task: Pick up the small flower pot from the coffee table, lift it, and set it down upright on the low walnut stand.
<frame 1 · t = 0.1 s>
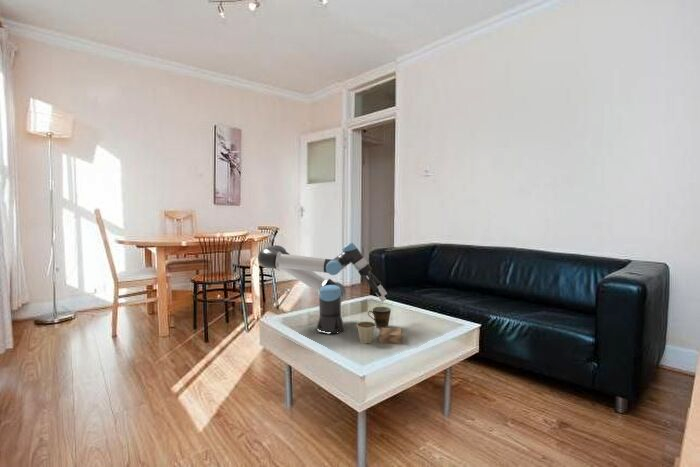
hand: (384, 297, 203), 15 cm above the table, tool tilted 35°, fingers open, 13 cm apart
ceramic cup: (379, 327, 199), on the table
stand: (390, 338, 181), on the table
flower pot: (366, 342, 177), on the table
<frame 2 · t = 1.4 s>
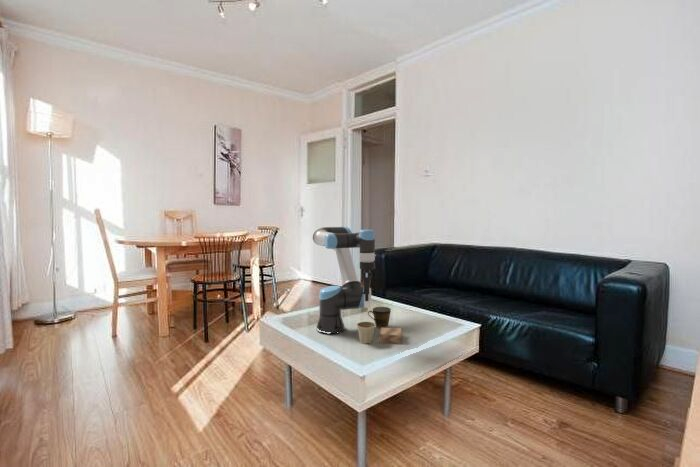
hand: (367, 303, 177), 19 cm above the table, tool pointing down, fingers open, 13 cm apart
nothing on the table moved.
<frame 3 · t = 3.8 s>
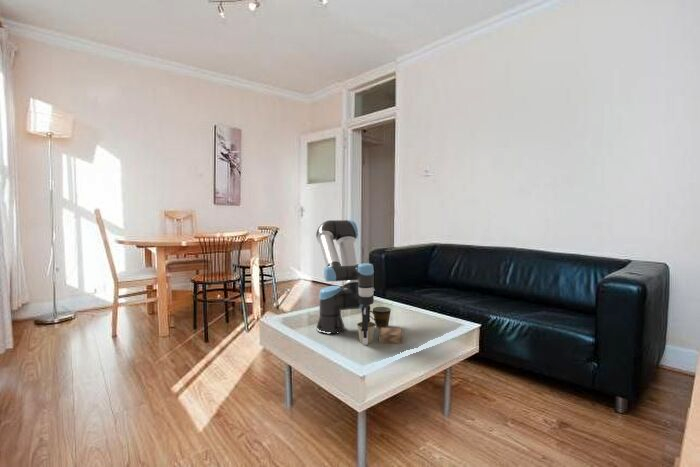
hand: (366, 340, 177), 1 cm above the table, tool pointing down, fingers closed on flower pot, 8 cm apart
flower pot: (366, 341, 177), on the table, touching gripper
everything else where it was.
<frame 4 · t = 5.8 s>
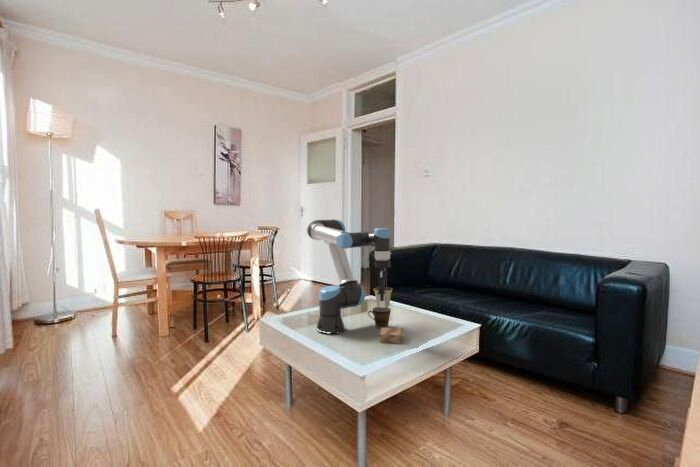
hand: (383, 304, 177), 18 cm above the table, tool pointing down, fingers closed on flower pot, 8 cm apart
flower pot: (383, 306, 177), point 17 cm above the table, touching gripper
everything else where it was.
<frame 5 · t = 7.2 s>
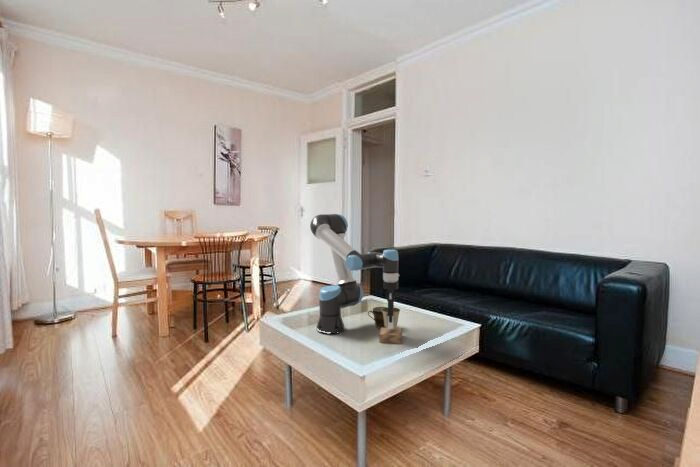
hand: (390, 325, 180), 7 cm above the table, tool pointing down, fingers closed on flower pot, 8 cm apart
flower pot: (391, 326, 180), point 6 cm above the table, touching gripper
everything else where it was.
when the fingers open (5 cm above the table, at t = 8.0 s): flower pot stays where it is, resting on stand.
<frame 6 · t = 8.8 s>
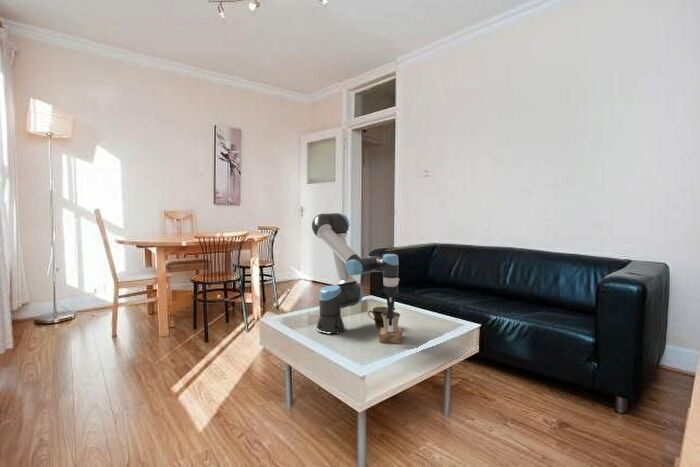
hand: (390, 327, 180), 6 cm above the table, tool pointing down, fingers open, 13 cm apart
flower pot: (390, 331, 180), point 4 cm above the table, touching stand
everything else where it was.
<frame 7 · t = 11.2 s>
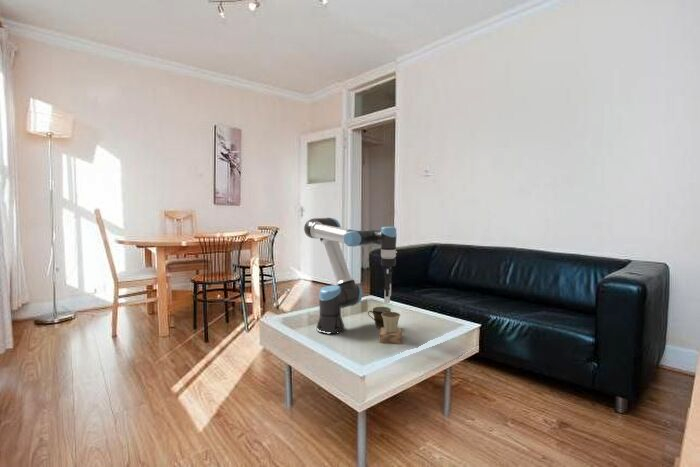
hand: (387, 299, 182), 20 cm above the table, tool pointing down, fingers open, 13 cm apart
nothing on the table moved.
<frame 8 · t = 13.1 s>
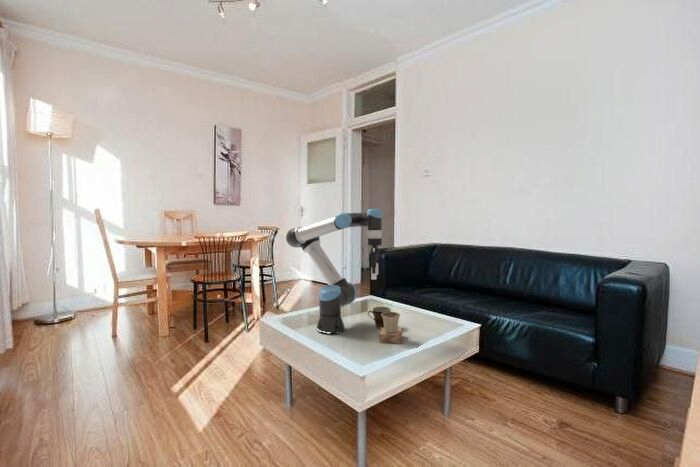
hand: (374, 277, 194), 29 cm above the table, tool pointing down, fingers open, 13 cm apart
nothing on the table moved.
at the end: flower pot inside the target area on the stand (0.1 cm from its centre), point 3.8 cm above the stand's base; flower pot tilted 0°; the gripper is holding nothing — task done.
